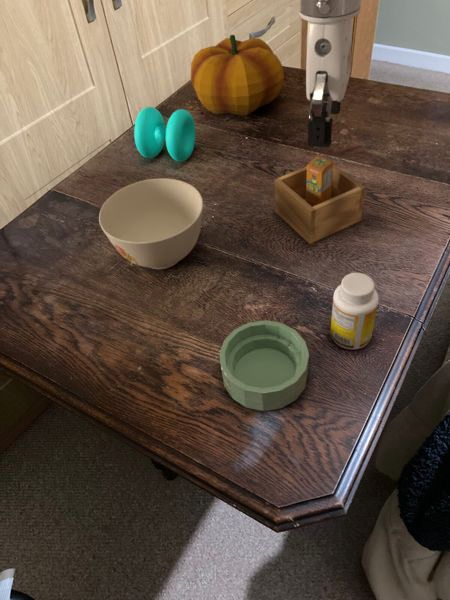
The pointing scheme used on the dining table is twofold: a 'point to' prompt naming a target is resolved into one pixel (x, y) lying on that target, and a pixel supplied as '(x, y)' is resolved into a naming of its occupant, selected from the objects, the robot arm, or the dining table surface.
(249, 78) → the decorative pumpkin
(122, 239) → the bowl
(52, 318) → the dining table surface
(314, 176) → the supplement box
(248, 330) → the green bowl
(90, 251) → the dining table surface
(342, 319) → the supplement bottle
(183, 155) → the turquoise yo-yo
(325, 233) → the wooden holder
